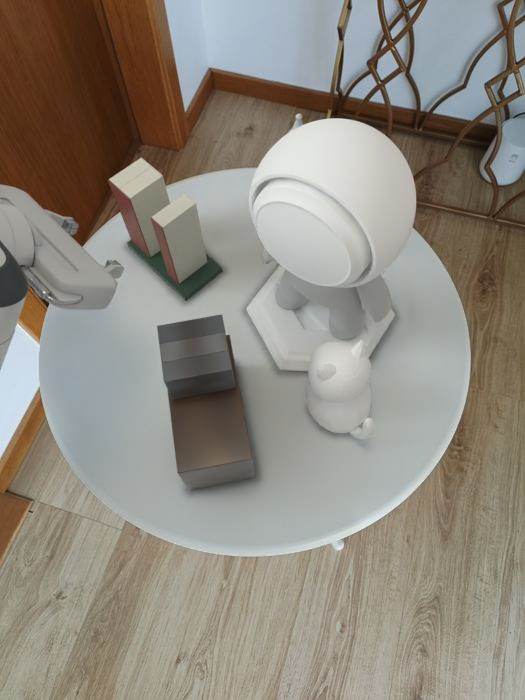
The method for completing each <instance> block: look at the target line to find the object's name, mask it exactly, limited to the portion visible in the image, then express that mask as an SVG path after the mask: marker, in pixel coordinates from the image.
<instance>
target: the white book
mask: <svg viewBox="0 0 525 700" xmlns="http://www.w3.org/2000/svg"><path fill="white" fill-rule="evenodd" d="M150 219H151V222H152V225H153V228H154V231H155V234H156V237H157V241H158V244H159V247H160V250H161V253H162V256H163V259H164V262H165V266H166V269H167V272H168V275H169V276H170V277H171V278H172V279H173V280H174V281H175V282H176V283H177V284H180V283H181V282H182V281H184V280H185V279H186V278H187V277H189V276H190V275H191V274H193V273H194V272H195V271H196V270H198V269H199V268H200V267H202V266H203V265H204V264H205V263H207V257H206V254H207V253H206V248H205V247H206V246H205V242H204V238H203V232H202V228H201V222H200V217H199V211H198V208H197V203H196V202H195V201H194V200H192V198H190V197H189V196H188V195H187V194H186V193H183V194H182V195H181V196H179V197H177V198H176V199H174V200H173V201H171V202H170V204H169V205H168V206H166V207H165V208H163V209H162V210H161V211H159V212H158V213H157V214H155V215H154V216H152V217H151V218H150Z"/></svg>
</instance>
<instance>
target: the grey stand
mask: <svg viewBox="0 0 525 700" xmlns="http://www.w3.org/2000/svg"><path fill="white" fill-rule="evenodd" d="M156 330H157V337H158V346H159V355H160V361H161V369H162V371H161V372H162V379H163V383H164V385H165V387H166V389H167V397H168V398H167V399H168V407H169V415H170V423H171V430H172V439H173V447H174V454H175V463H176V472H177V474H178V476H179V478H181V480H182V482H183V483H184V485H186V487H187V489H188V490H189V491H193V490H198V489H203V488H208V487H213V486H218V485H223V484H228V483H233V482H238V481H243V480H248V479H249V480H250V479H253V478H256V471H255V465H254V464H255V463H254V458H253V452H252V447H251V442H250V437H249V431H248V425H247V420H246V415H245V409H244V405H243V404H244V403H243V398H242V393H241V388H240V382H239V377H238V372H237V367H236V361H235V355H234V350H233V346H232V340H231V335H230V334H226V329H225V323H224V317H223V314H216V315H210V316H205V317H199V318H194V319H188V320H182V321H176V322H170V323H166V324H159V325H157V326H156Z"/></svg>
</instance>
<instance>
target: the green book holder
mask: <svg viewBox="0 0 525 700" xmlns="http://www.w3.org/2000/svg"><path fill="white" fill-rule="evenodd" d="M107 183H108V184H109V187H110V190H111V192H112V194H113V197H114V200H115V203H116V205H117V207H118V210H119V212H120V215H121V218H122V220H123V223H124V225H125V228H126V230H127V233H128V236H129V238H130V239H129V240H128V241H127V242H126V245H127V247H128V248H129V249H130V250H131V251H132V252H133V253H134V254H135V255H137V256H138V258H140V259H141V260H142V261H143V262H144V263H145V264H146V265H147V266H148V267H149V268H150V269H151V270H152V271H153V272H154V273H156V274H157V275H158V276H159V277H160V278H161V279H162V280H163V281H164V282H165V283H166V284H167V285H168V286H169V287H170V288H172V289H173V291H174V292H176V293H177V294H178V296H180V297H181V298H182V299H183V300H184V301H185V302H186V301H188V300H189V299H190V298H191V297H192V296H194V295H195V294H196V293H197V292H199V291H200V290H201V289H203V288H204V287H205V286H206V285H208V284H209V283H210V282H211V281H212V280H214V279H215V278H217V277H218V276H219V275H220V274H221V273H222V272H223V271H224V270H223V269H224V268H223V267H222V266H221V265H220V264H219V263H217V262H216V261H215V260H214V259H213V258H212V257H211V256H210V255H208V254H207V253H206V257H207V263H205V264H204V265H203V266H202V267H200V268H199V269H198V270H196V271H195V272H194V273H193V274H191V275H190V276H189V277H187V278H186V279H185V280H184V281H182V282H181V283H180V284H177V283H176V282H175V281H174V280H173V279H172V278H171V277H170V276H169V275H168V272H167V269H166V266H165V262H164V259H163V256H162V253H161V250H160V247H159V244H158V241H157V237H156V234H155V231H154V228H153V225H152V222H151V219H150V218H151V217H152V216H154V215H155V214H157V213H158V212H159V211H161V210H162V209H163V208H165V207H166V206H168V205H169V204H170V203H171V202H170V198H169V193H168V190H167V187H166V182H165V178H164V175H163V174H162V173H160V172H159V171H158V170H157V169H156V168H155V167H154V166H152V165H151V164H150V163H148V162H147V161H146V160H145V159H144V158H143V157H139V159H137V160H136V161H134V162H132V163H131V164H129V165H128V166H126V167H125V168H124V169H122V170H120V171H119V172H117V173H116V174H114V175H113V176H112V177H110V178H109V179H107Z"/></svg>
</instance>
